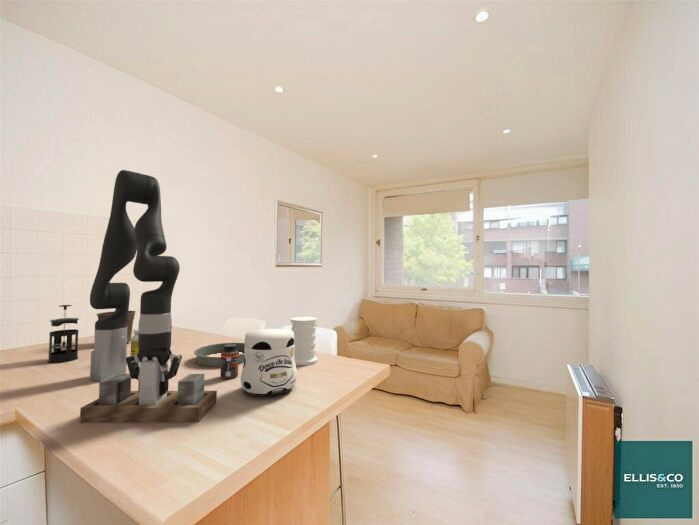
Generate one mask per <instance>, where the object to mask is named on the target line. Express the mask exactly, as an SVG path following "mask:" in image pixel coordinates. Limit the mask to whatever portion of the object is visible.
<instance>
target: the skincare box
mask: <svg viewBox="0 0 699 525" xmlns="http://www.w3.org/2000/svg"><path fill="white" fill-rule="evenodd" d="M164 366H165V365H164ZM164 366H163V367H162V369H163V368H164ZM139 367H140V384H139V383H138V385H139V387H138V388H139V405H157V404H158V403H160V402H161V401H162V400H164V399H165V398H167V392H166V393H165V394H164V395H159V382H160V381H161V380H160V377H159V373H158V369H159V368H158V367H159V363H158V361H153V360H149V361H143V362H139Z"/></svg>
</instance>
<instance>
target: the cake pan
mask: <svg viewBox="0 0 699 525" xmlns="http://www.w3.org/2000/svg"><path fill="white" fill-rule="evenodd" d="M226 344H236V349H237V351H238V352H242V353H243V354H239V362H238V363H239V364H243V363H244V359H245V353H244V348H245V342H223V343H222V342H221V343H214V344H209V345H205V346H201V347H198V348H197V349H195V350H194V351H193V355H195V356H196V360H197V364H199V363H200V364H199V365H201V364H202V365H201V366H205V365H207V366H206V367H221V357H209V356H207V355H211V354H217V353H222V352H223V351H224V345H226ZM242 362H243V363H242Z"/></svg>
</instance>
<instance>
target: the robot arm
mask: <svg viewBox="0 0 699 525" xmlns="http://www.w3.org/2000/svg"><path fill="white" fill-rule="evenodd" d="M115 177H116V178H115V181H114V188H113V194H112V201H111V210H110V215H109V219H108V223H107V226H106V230H105V235H104V238H103V243H102V247H101V254H100V259H99V264H98V269H97V272H96V274H95V278H94V280H93V284H92V287H91V290H90V293H89V294H90V295H89V303H90V306H91V308H92V309H94V310H114V313H112V314H111V315H109V316H107V317H105V318H102V319H99V320H98V319H97V320H96V321H95V323H94V344H93V350H92V351H91V352H90V363H89V364H90V367H89V368H90V370H89V379H90V380H93V381H96V382H99V381H102V380H104V379H106V378H108V377H110V376H113V375H115V374H127V369H128V374H130V377H131V380H137V382H138V386H137V387H138V389H137V391H138V392H139V384H140V363H141V362H143V361H149V360H153V361H158V363H159V367H158V368H159V369H158V373H159V377H160V380H161V381H160V382H159V395H164V394H165V393H166V392H167V391H169V381H170V380H171V379H172V378H174V377H176V376H177V374H178V371H179V368H180V365H181V363H182V362H181V361H182V360H183V356H182V355H181V354H179V355H178V354H173V353H172V351H171V348H172V347H171V345H172V328H173V324H172V322H173V321H172V320H173V319H172V297H173V296H172V295H173V292H174V290H175V285H176V282H177V279H178V277H179V274H180V263H179V261H178V259H177V258H176V257H174V256H170V255H163V254H164V253H165V252H166V250H167V241H166V238H165V234H164V233H165V232H164V229H163V223H162V222H163V221H162V203H161V197H162V196H161V187H160V182H159V180H158V179H157V178H155V177H154V176H152V175H148V174H144V173H140V172H136V171H130V170H125V169H121V170H120V171H119V172H118V173H117V175H116V176H115ZM128 202H130V203H135V204H140V205H141V204H142V205H146V206H147V208H146V210H145V211H144V213H143V214H142V215H141V216H140V217H139V219H138V220H137V221H136V223H135V225H133V223H132V221H131V220H130V217H129V214H128V212H127V203H128ZM134 259H135V261H134V263H133V268H132V269H133V271H132V272H133V276H134V277H135V278H136V280H137V281H140V282H143V283H144V282H145V283H153V282H154V283H155V282H157V283H158V282H160V283H161V285H160V286H159V287H158V288H156V289H152V290H147V291H144V292H142V293H141V295H140V302H139V303H140V304H139V306H140V309H139V310H140V311H139V313H140V314H139V319H138V328H137V329H138V349H139V352H138V353H137V355H132V356H131V355H129V356H127V353H128V351H127V349H128V344H127V323H128V312H129V311H130V310H129V309H130V299H131V289H130V286H129V284H128V283H127V282H111V280H112V279H113V278H114V277H115V276H116V275H117V274H118V273H119V272H120V271H121V270H123V269H124V268H126V266H128V265H129V264H130V263H131V262H132V261H133V260H134ZM169 360H170V362H169ZM138 361H140V362H138ZM168 362H169V363H170V367H169V364H168ZM164 365H165V366H164ZM163 366H164V368H163V369H162V367H163Z"/></svg>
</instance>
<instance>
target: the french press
mask: <svg viewBox="0 0 699 525" xmlns="http://www.w3.org/2000/svg"><path fill="white" fill-rule="evenodd" d="M58 307H63V310H64V315H63V316H64V317H63V318H62V317H61V318H56V319H51V320H50V321H49V322H50V323H51V325H50V326H51V327H60V326H62V325H63V329H58V330H53V331H49V338H48V339H49V340H48V343H49V344H48V358H47V359H48V360H47V363H49V364H62V363H68V362H73V361H75V360H78V359H79V356H78V355H79V353H78V352H79V351H78V346H79V344H78V342H79V332H80V331H79V329H76V328H75V329H66V324H75V325H78V321H79V320H80V318H78V317H66V314H67V313H66V311H67V308H68V307H72V305H71V304H61V305H58ZM73 336H75V337H74V338H75V340H74V341H75V342H74V341H73ZM62 338H63V342H62ZM65 338H66V339H65ZM65 340H66V341H65ZM73 347H74V349H73ZM64 348H65V349H64ZM52 349H53V350H52Z"/></svg>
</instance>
